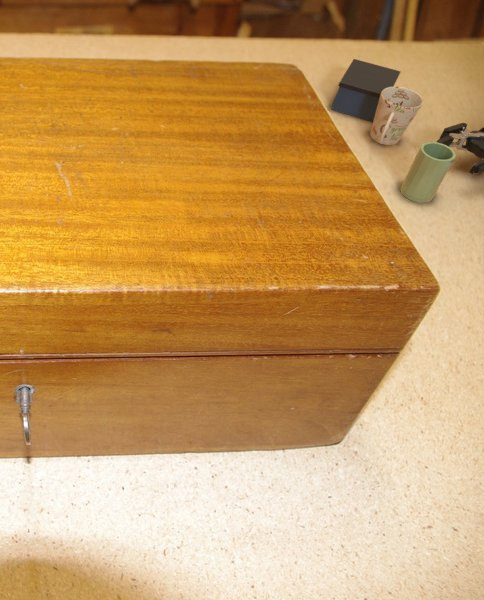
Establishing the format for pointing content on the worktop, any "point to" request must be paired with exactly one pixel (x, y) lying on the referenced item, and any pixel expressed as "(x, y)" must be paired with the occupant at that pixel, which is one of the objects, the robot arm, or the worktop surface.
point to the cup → (427, 171)
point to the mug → (394, 114)
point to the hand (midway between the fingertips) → (454, 157)
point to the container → (363, 89)
